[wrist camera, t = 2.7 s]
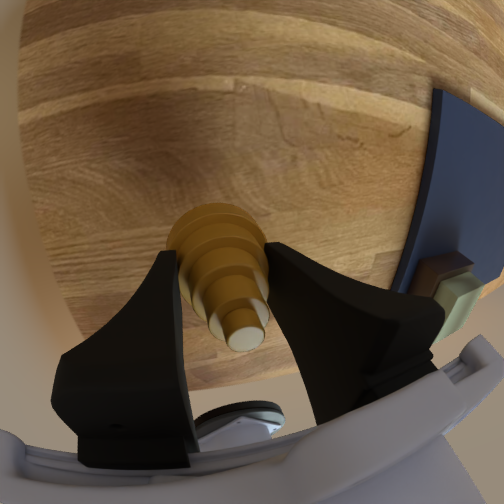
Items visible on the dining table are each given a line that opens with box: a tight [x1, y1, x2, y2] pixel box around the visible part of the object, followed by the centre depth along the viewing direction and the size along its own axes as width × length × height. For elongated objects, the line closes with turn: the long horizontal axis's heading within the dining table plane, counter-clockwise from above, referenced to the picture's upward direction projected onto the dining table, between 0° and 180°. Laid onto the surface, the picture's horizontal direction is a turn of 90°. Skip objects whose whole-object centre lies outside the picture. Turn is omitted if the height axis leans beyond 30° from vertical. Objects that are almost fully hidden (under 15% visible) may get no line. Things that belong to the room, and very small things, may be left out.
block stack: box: [407, 251, 485, 344], centre depth 21 cm, size 7×7×5 cm
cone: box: [166, 203, 270, 352], centre depth 10 cm, size 4×4×6 cm
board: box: [390, 88, 504, 294], centre depth 23 cm, size 30×22×1 cm
